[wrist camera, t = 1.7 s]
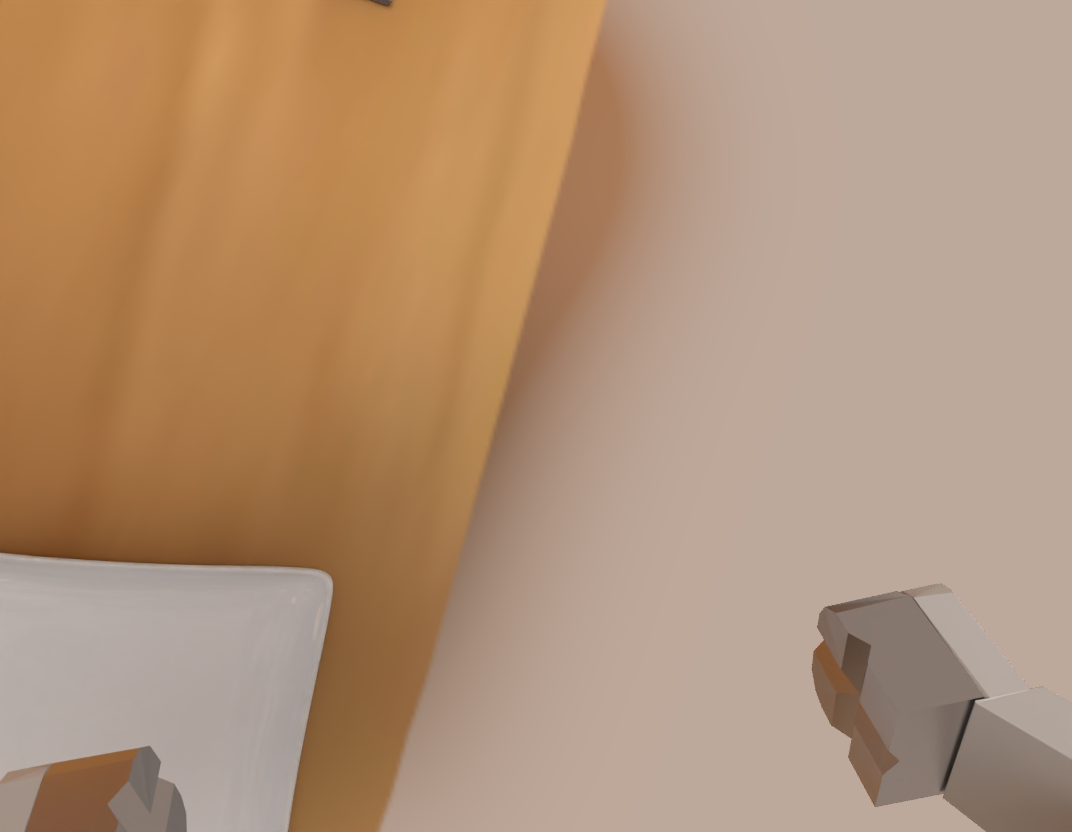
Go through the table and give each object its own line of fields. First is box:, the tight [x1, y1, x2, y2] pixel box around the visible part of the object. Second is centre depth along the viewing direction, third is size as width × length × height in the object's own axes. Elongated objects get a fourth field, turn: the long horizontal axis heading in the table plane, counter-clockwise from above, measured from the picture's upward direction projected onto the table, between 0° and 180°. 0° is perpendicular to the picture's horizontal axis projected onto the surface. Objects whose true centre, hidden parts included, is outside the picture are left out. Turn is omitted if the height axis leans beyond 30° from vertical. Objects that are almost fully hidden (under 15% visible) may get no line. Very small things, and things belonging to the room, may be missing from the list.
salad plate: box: [0, 553, 333, 832], centre depth 40 cm, size 21×21×3 cm
